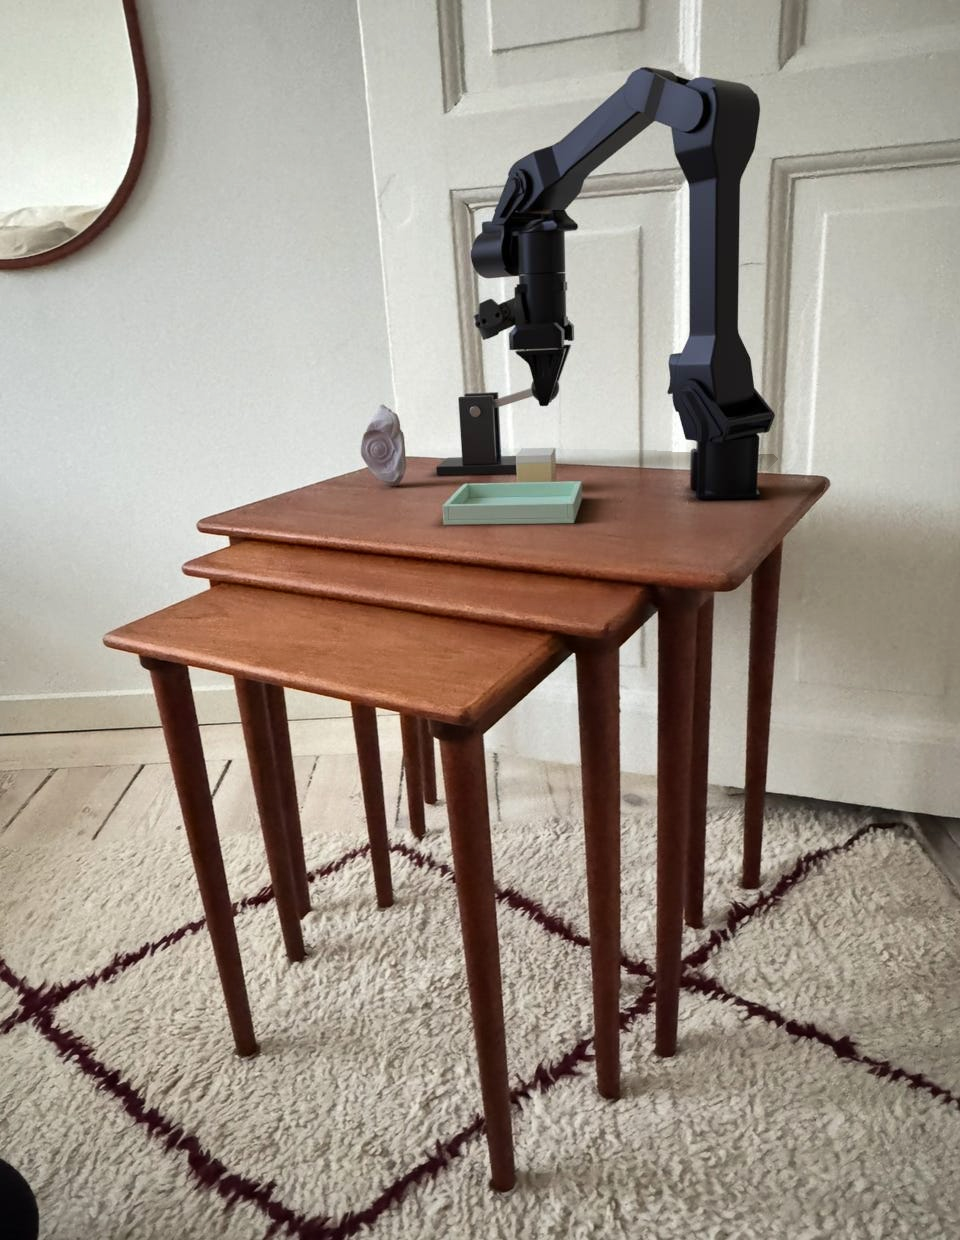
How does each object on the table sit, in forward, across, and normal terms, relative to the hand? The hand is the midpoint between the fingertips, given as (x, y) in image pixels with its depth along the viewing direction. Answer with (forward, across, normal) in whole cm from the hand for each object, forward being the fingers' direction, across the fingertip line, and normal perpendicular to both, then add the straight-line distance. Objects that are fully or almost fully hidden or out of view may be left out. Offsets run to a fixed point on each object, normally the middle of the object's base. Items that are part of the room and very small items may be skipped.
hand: (545, 404), depth 114 cm
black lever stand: (+8, 0, -9) cm, 12 cm away
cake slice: (+8, +14, 0) cm, 16 cm away
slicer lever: (+1, 0, -4) cm, 4 cm away
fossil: (+8, +10, -19) cm, 23 cm away
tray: (+8, +25, -1) cm, 26 cm away
